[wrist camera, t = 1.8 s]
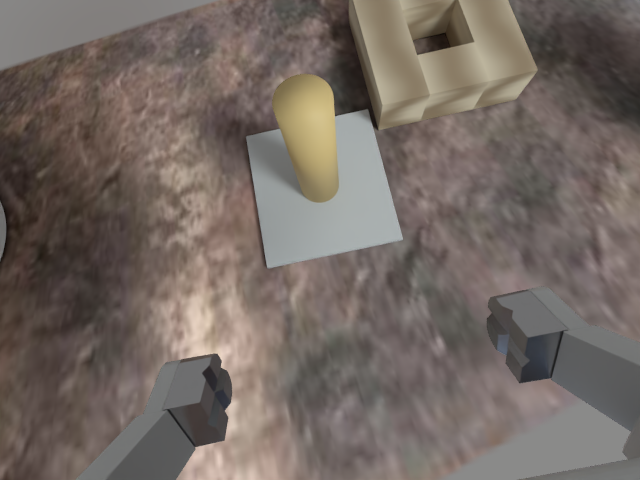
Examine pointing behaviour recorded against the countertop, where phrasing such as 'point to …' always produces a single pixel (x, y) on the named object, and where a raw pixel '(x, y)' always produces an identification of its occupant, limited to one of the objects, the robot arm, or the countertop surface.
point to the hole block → (438, 57)
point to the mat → (327, 217)
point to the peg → (309, 133)
